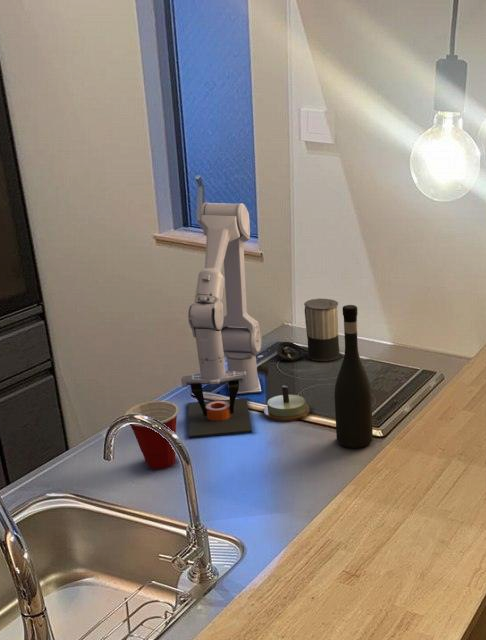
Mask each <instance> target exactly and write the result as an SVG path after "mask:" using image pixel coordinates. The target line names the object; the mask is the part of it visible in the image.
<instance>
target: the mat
mask: <svg viewBox="0 0 486 640" xmlns="http://www.w3.org/2000/svg"><path fill="white" fill-rule="evenodd" d="M204 401H205V400H204ZM216 401H224V402H228V403H229V404H230V398H229V399H217V400H206V401H205V406H206V405H207V404H209V403H211V402H216ZM187 410H188V411H187V415H188V417H187V418H188V438H189V439H196V438H208V437H218V436H231V435H242V434H243V435H244V434H251V433H253V429H252V424H251V418H250V417H251V416H250V412H249V404H248V400H247V397H243V398H236V399H235V403H234V413H231V417H230V418H228V419H226V420H221V421H213V420H209V419H208V418H207V416H204V415H203V411H202V408H201V406H200V404H199V402H198V401H194V402H193V401H191V402H187Z"/></svg>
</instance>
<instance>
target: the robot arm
mask: <svg viewBox="0 0 486 640" xmlns="http://www.w3.org/2000/svg"><path fill="white" fill-rule="evenodd" d="M199 218H200V219H199V220H200V221H199V222H200V224H201V228H202V230H203V233H204V235H205V238H206V241H205V242H206V243H205V255H204V256H205V259H204V269H202V270H201V271H199V272H198V276H197V283H196V289H195V296H194V302H193V303H192V304H189V305H190V306H189V307H188V313H187V316H188V319H187V320H188V321H187V322H188V324H189V327H190V329H191V333H192V337H193V338H195V343H196V350H197V357H198V364H199V372H198V373H194V374H188V375H181V376H180V380H181V386H182V388H187V387H189V386H190V391H191V393H192V395H193V396H194V397H195V399H196V400H197V402H199V404H200V406H201V408H202V411H203V415H204V416H207V413H206V406H205V397H204V390H203V389H204V388H203V386H204V385H218V384H227V388H228V395H229V399H230V411H231V413H234V403H235V399H237V395H243V394H245V395H246V394H257V393H262V387H261V382H260V378H259V376H258V366H257V364H258V363H257V355H258V354H259V352H260V351H261V348H262V334H261V331H260V325H259V322H258V321H257V320H256V319H255V318H253V317H252V316H251V315H249V313H248V308H247V307H248V306H247V304H248V303H247V289H246V288H247V284H246V269H245V268H246V266H245V265H246V264H245V243H246V242H248V241H250V240H251V237H250V236H251V225H250V214H249V210H248V208H247V206H246V205H245V204H244V203H242V202H241V203H223V202H222V203H221V202H219V203H218V202H207V201H206V202H205V201H204V202H203V203H202V204H201V207H200V210H199ZM222 269H223V272H224V273H223V274H224V275H223V274H222ZM224 291H225V292H224ZM224 293H225V305H226V308H225V309H226V314H224V303H223V302H222V301H223V296H224ZM225 358H226V361H225ZM226 366H227V369H226Z"/></svg>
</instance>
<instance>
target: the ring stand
mask: <svg viewBox="0 0 486 640" xmlns="http://www.w3.org/2000/svg"><path fill="white" fill-rule="evenodd" d="M281 389H282V390H281V391H282V394H280V395H275V396H272V397H271V398H269V399H268V400H267V402H266V406H265V407H264V409H263V415H264V417H265V418H266V419H268V420H271V421H273V422H283V423H287V422H288V423H289V422H296V421H300V420H304V419H306V418H307V417H309V415H310V414H311V407H310V405H308V404H307V403H306V398H304V397H303V396H300V395H297V394H289V385H287V384H286V385H285V384H284V385H282V386H281Z"/></svg>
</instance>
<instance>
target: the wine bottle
mask: <svg viewBox="0 0 486 640" xmlns="http://www.w3.org/2000/svg"><path fill="white" fill-rule="evenodd" d="M358 314H359V313H358V307H357V306H356V305H354V304H345V305H343V306H342V316H343V329H344V330H343V331H344V332H343V333H344V356H343V359H342V363H341V366H340V369H339V371H338V374H337V377H336V381H335V386H334V393H333V394H334V414H335V415H334V416H335V432H336V433H335V434H336V435H335V436H336V441H337V442H338V444H339V445H341V446H343V447H346V448H351V449H352V448H353V449H354V448H355V449H356V448H362V447H365V446H368V445H369V444H370V443H371V442H372V441H373V436H374V434H373V433H374V432H373V431H374V430H373V429H374V428H373V396H372V395H373V392H372V386H371V382H370V379H369V376H368V374H367V371H366V369H365V367H364V365H363V362H362V359H361V357H360V352H359V346H358Z"/></svg>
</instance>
